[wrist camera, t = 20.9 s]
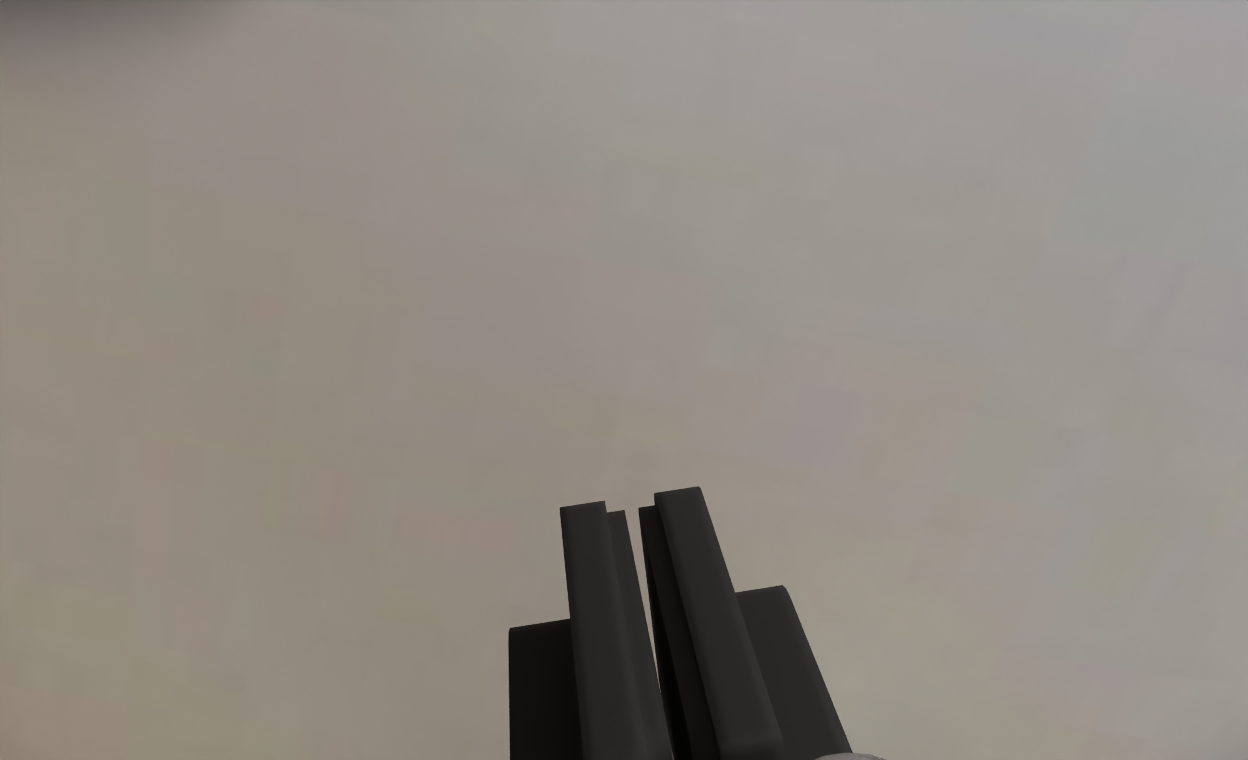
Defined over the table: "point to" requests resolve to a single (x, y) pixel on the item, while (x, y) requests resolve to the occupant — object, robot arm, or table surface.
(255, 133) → the table surface
